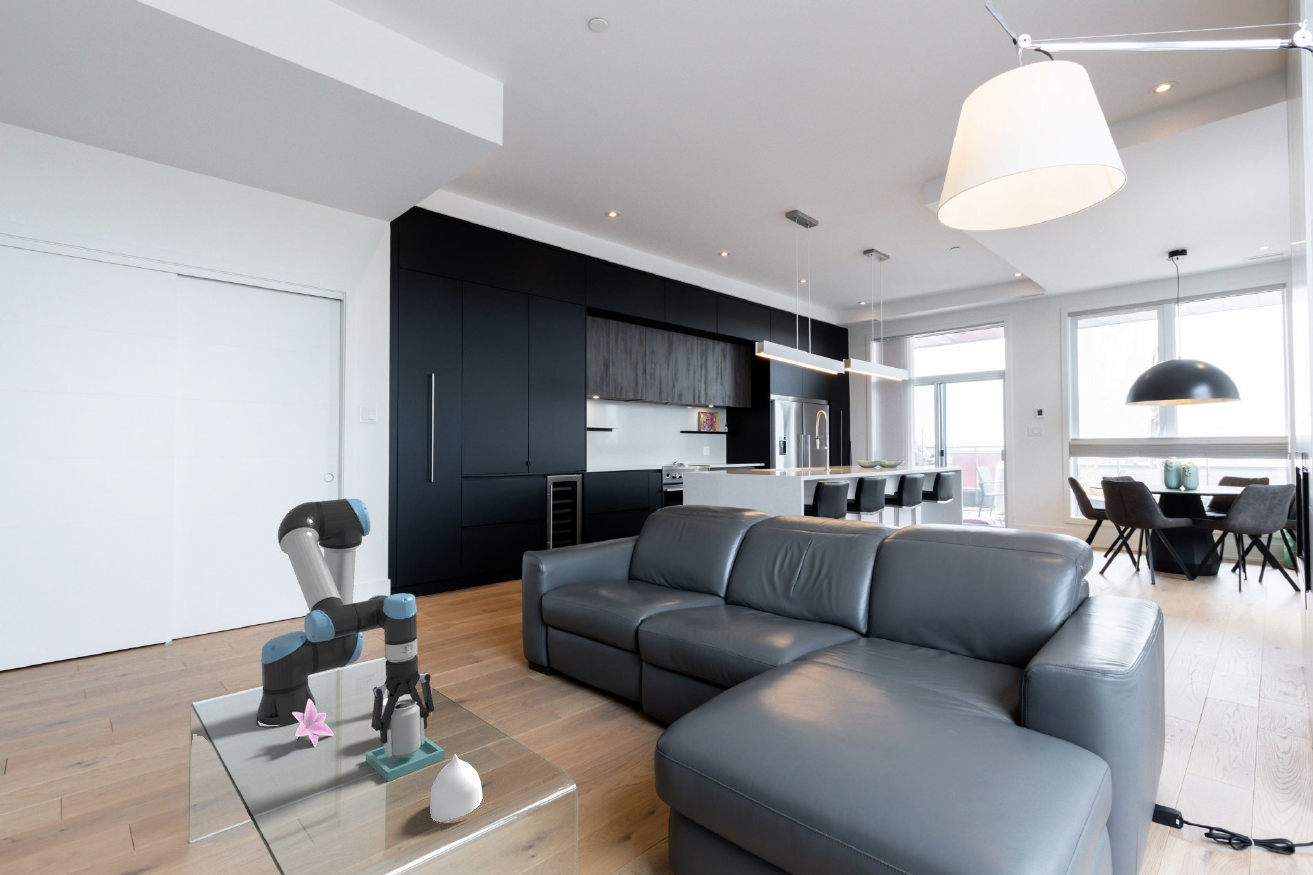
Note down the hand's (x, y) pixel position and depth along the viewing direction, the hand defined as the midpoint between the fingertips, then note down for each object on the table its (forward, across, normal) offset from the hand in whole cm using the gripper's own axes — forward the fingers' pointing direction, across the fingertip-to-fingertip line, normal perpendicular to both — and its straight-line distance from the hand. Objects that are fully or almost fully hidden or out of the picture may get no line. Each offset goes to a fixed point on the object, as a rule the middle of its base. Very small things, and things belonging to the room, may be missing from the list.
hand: (404, 748), depth 157 cm
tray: (+3, 0, 0) cm, 3 cm away
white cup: (+3, +4, +14) cm, 15 cm away
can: (+1, 0, 0) cm, 1 cm away
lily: (+3, -13, +30) cm, 32 cm away
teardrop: (+3, -1, -29) cm, 30 cm away
